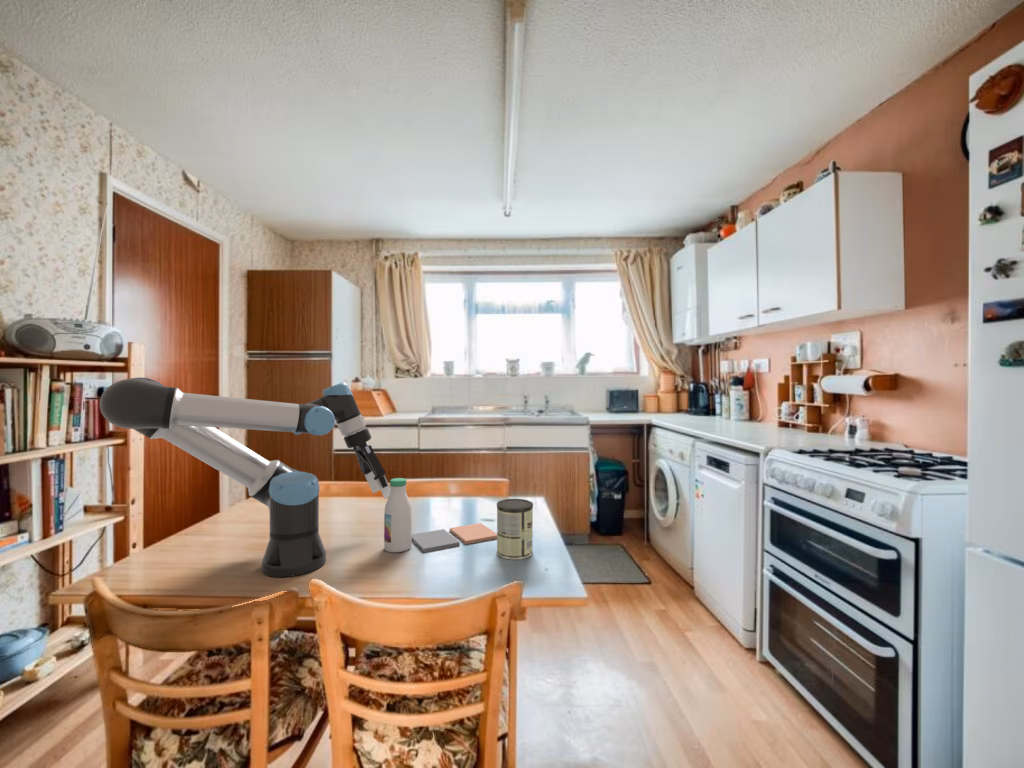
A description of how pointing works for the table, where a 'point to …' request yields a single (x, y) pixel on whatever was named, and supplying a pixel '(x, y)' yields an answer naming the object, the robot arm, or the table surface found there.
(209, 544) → the table surface
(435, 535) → the slate tile
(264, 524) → the table surface
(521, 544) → the coffee can
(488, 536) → the terracotta tile
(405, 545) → the milk bottle
